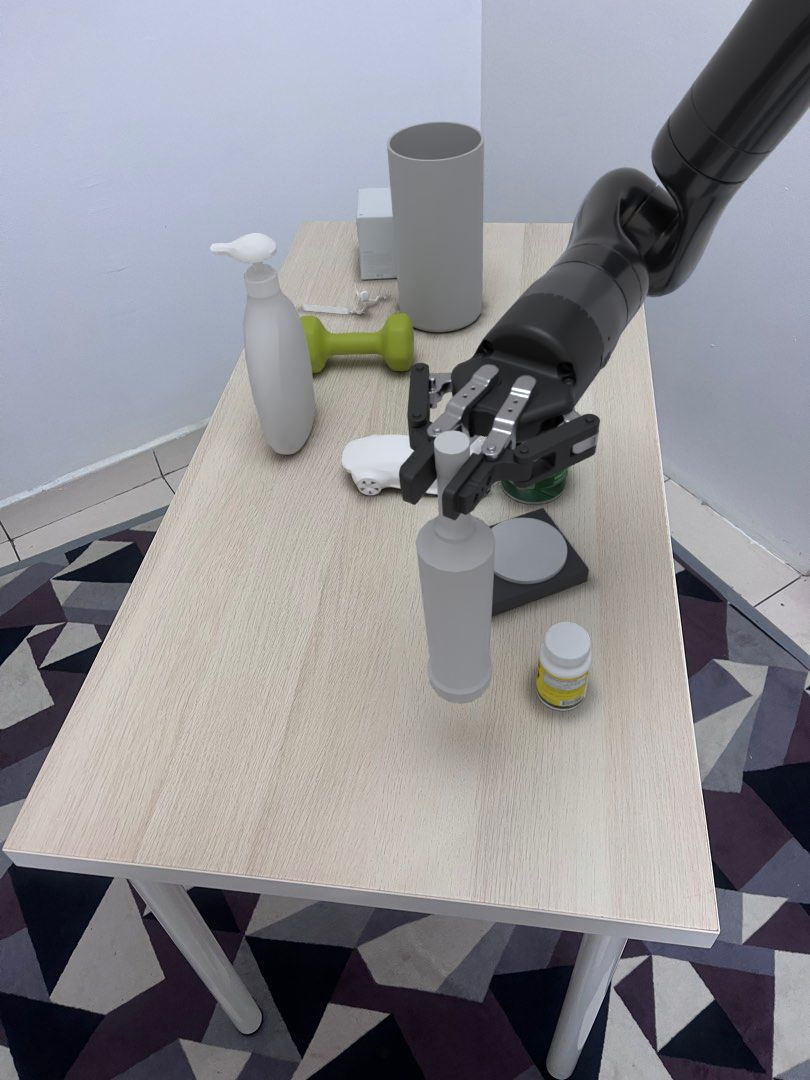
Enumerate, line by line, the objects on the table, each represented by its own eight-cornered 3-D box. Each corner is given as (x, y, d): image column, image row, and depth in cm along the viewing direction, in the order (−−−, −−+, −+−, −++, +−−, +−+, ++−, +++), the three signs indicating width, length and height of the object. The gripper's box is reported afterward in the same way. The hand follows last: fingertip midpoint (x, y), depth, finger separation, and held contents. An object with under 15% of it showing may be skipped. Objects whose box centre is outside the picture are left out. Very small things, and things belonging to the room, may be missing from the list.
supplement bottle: (547, 661, 78) (554, 609, 72) (593, 681, 76) (604, 630, 70) (526, 699, 75) (531, 648, 69) (573, 720, 74) (582, 670, 67)
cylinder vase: (421, 283, 127) (412, 117, 108) (494, 298, 123) (498, 127, 104) (386, 325, 120) (370, 153, 101) (462, 341, 115) (460, 166, 97)
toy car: (492, 454, 99) (493, 426, 95) (491, 499, 93) (491, 471, 90) (350, 452, 101) (345, 424, 97) (340, 495, 95) (335, 467, 92)
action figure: (313, 300, 127) (297, 316, 122) (313, 266, 124) (297, 281, 118) (385, 311, 126) (372, 328, 120) (387, 278, 122) (374, 294, 117)
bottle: (426, 706, 62) (404, 474, 44) (428, 650, 66) (408, 414, 47) (493, 706, 62) (498, 472, 43) (491, 651, 65) (496, 412, 47)
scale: (542, 519, 91) (543, 503, 89) (587, 581, 84) (590, 565, 82) (445, 552, 88) (445, 537, 86) (485, 619, 82) (485, 603, 80)
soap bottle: (272, 396, 109) (228, 204, 90) (330, 398, 108) (297, 204, 88) (244, 468, 100) (186, 270, 80) (306, 471, 99) (264, 271, 79)
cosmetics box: (401, 278, 128) (396, 215, 121) (361, 281, 129) (354, 218, 121) (400, 246, 135) (396, 184, 128) (362, 249, 136) (356, 187, 128)
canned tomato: (568, 505, 92) (578, 431, 84) (500, 504, 93) (502, 432, 85) (564, 458, 97) (572, 385, 89) (499, 459, 98) (501, 386, 90)
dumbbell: (416, 347, 115) (413, 303, 110) (413, 381, 110) (410, 336, 104) (304, 349, 117) (296, 306, 111) (296, 383, 111) (287, 338, 106)
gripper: (464, 269, 55) (318, 414, 45) (661, 317, 49) (543, 493, 40) (465, 360, 60) (336, 506, 51) (643, 412, 55) (535, 586, 45)
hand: (428, 499), depth 45 cm, fingers closed on bottle, 2 cm apart
